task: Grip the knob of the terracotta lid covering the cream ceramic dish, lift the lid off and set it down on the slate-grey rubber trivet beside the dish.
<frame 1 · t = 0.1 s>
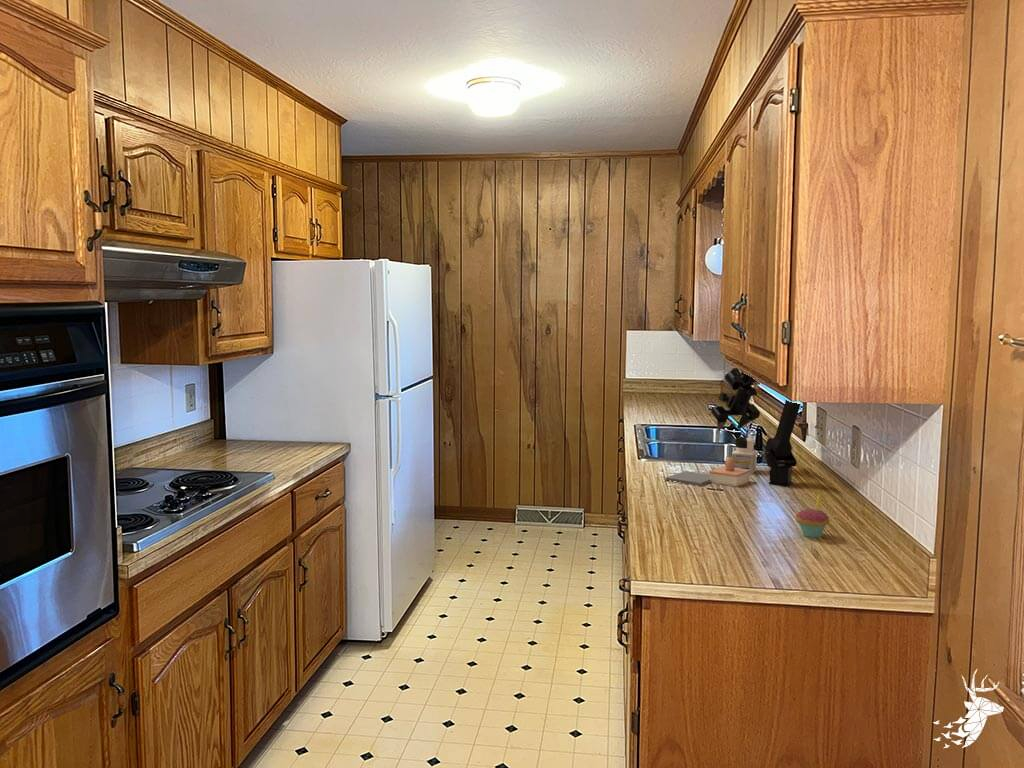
hand: (728, 429, 296), 15 cm above the counter, tool tilted 35°, fingers open, 9 cm apart
dish: (729, 482, 272), on the counter
cupcake: (812, 535, 208), on the counter
container: (744, 471, 289), on the counter
trivet: (692, 480, 276), on the counter
lid: (729, 472, 271), point 3 cm above the counter, touching dish
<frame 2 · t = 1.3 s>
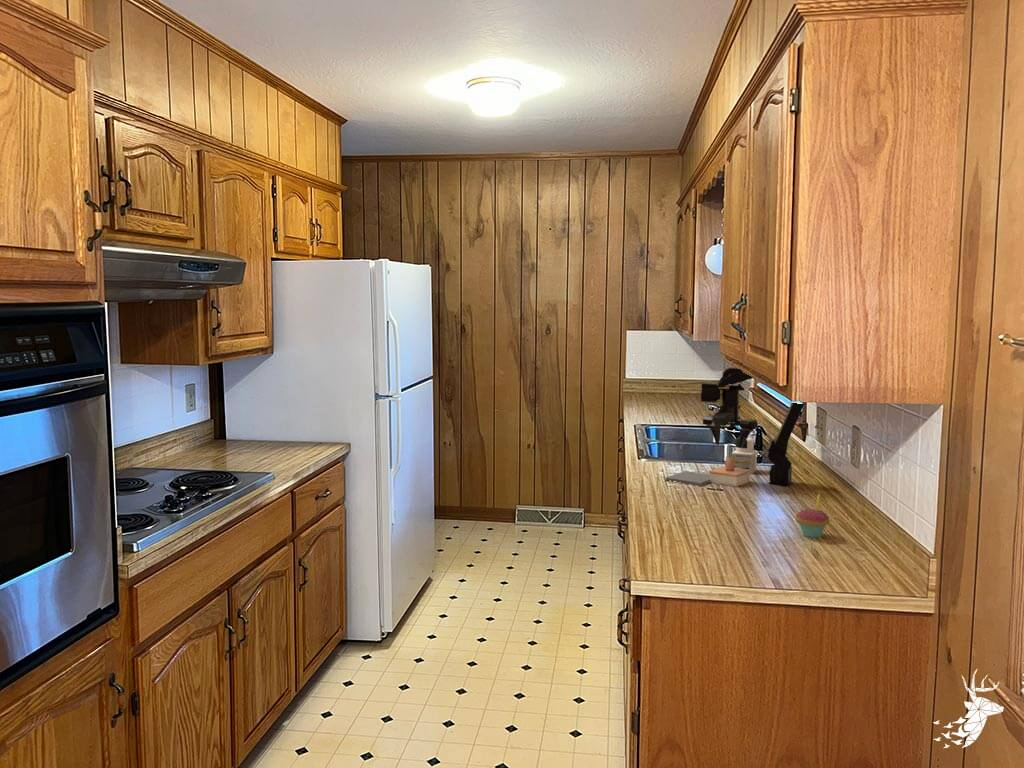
hand: (729, 446, 271), 13 cm above the counter, tool pointing down, fingers open, 9 cm apart
nothing on the counter moved.
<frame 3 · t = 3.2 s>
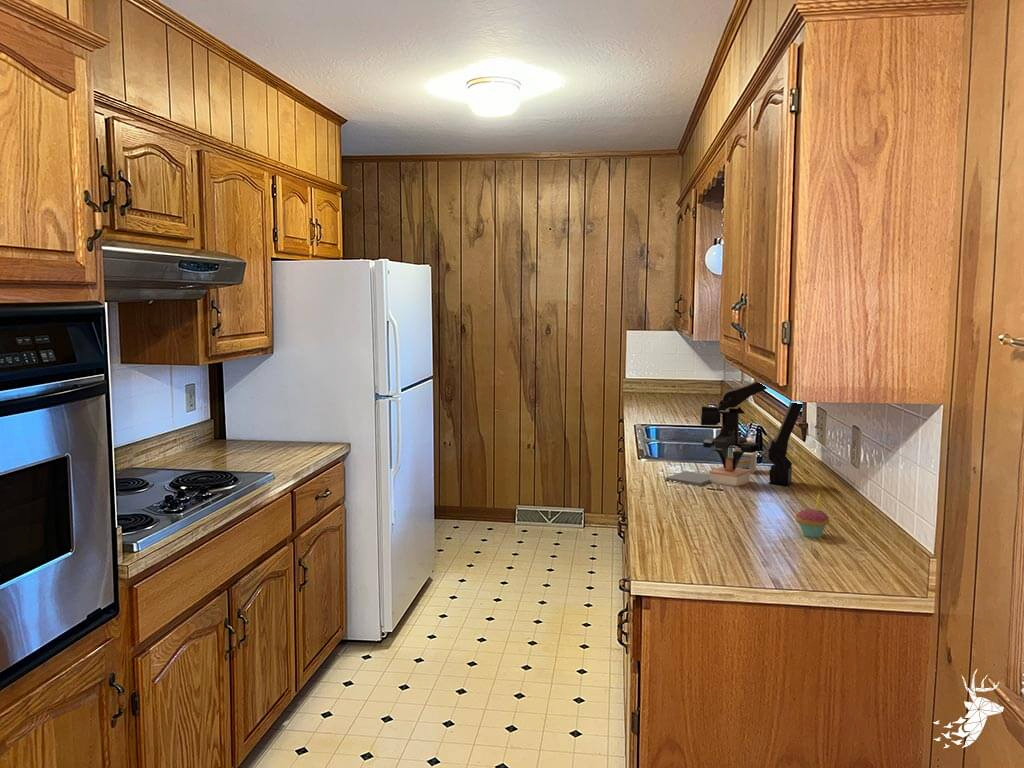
hand: (729, 469, 271), 5 cm above the counter, tool pointing down, fingers closed on lid, 3 cm apart
lid: (729, 472, 271), point 3 cm above the counter, touching dish, gripper
everything else where it was.
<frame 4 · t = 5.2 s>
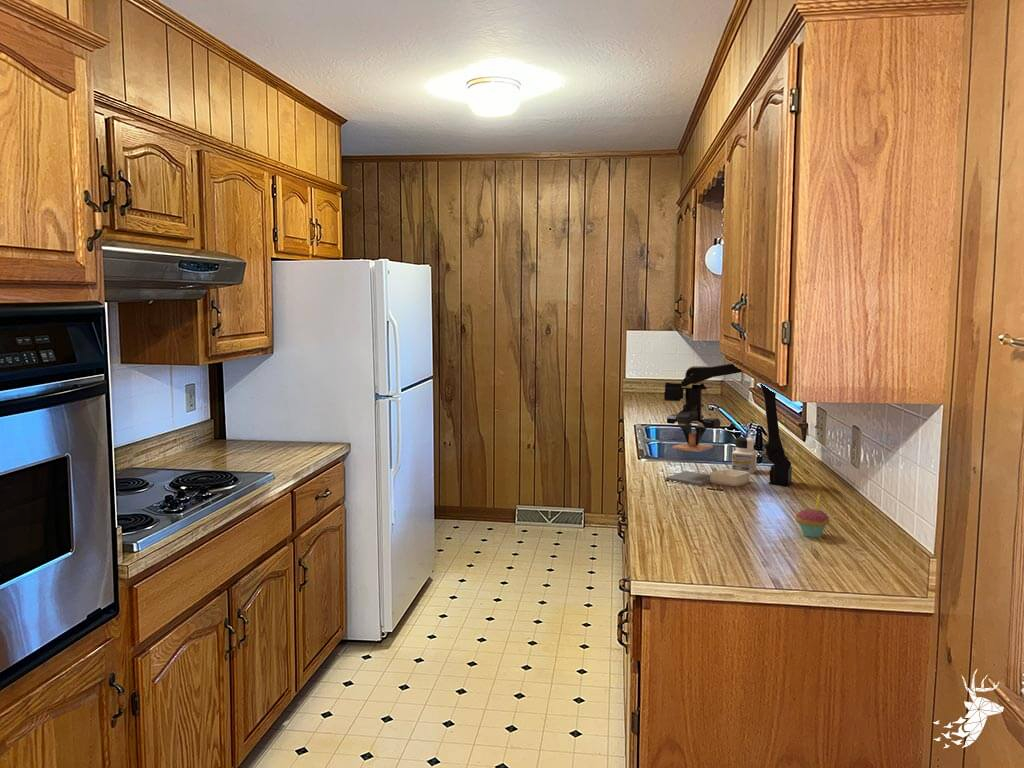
hand: (692, 444, 275), 13 cm above the counter, tool pointing down, fingers closed on lid, 3 cm apart
lid: (692, 448, 275), point 12 cm above the counter, touching gripper
everything else where it was.
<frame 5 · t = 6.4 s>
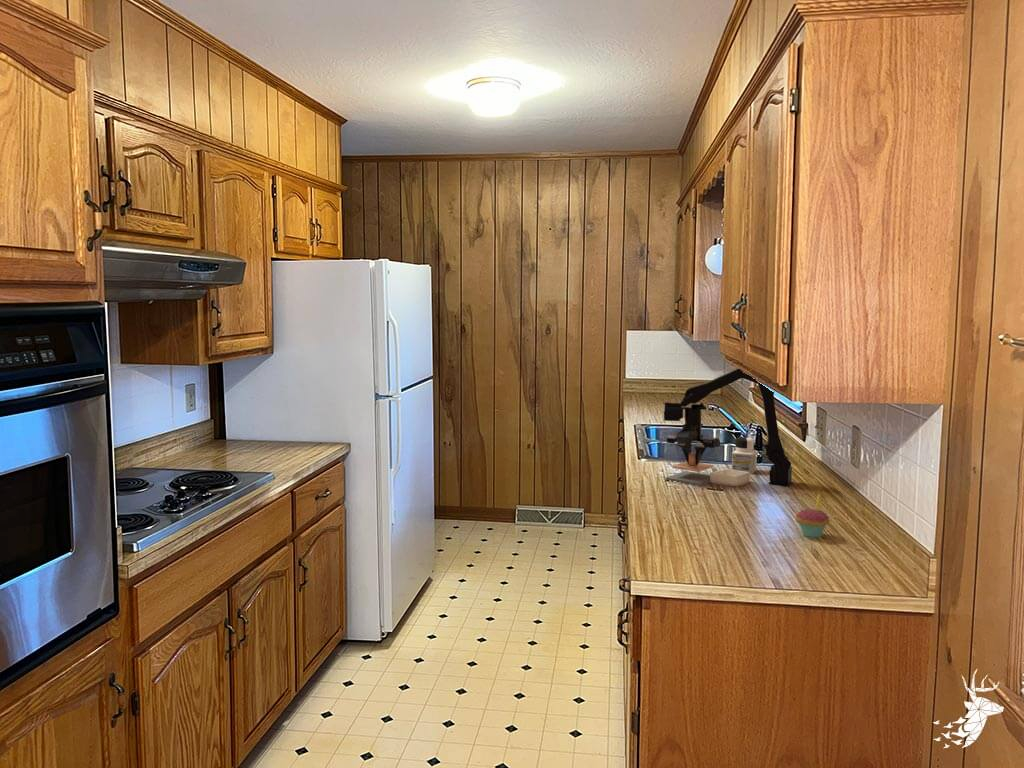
hand: (692, 464, 275), 6 cm above the counter, tool pointing down, fingers closed on lid, 3 cm apart
lid: (692, 467, 275), point 5 cm above the counter, touching gripper
everything else where it was.
when the fingers open (4 cm above the counter, at t = 7.4 s): lid drops 2 cm, resting on trivet.
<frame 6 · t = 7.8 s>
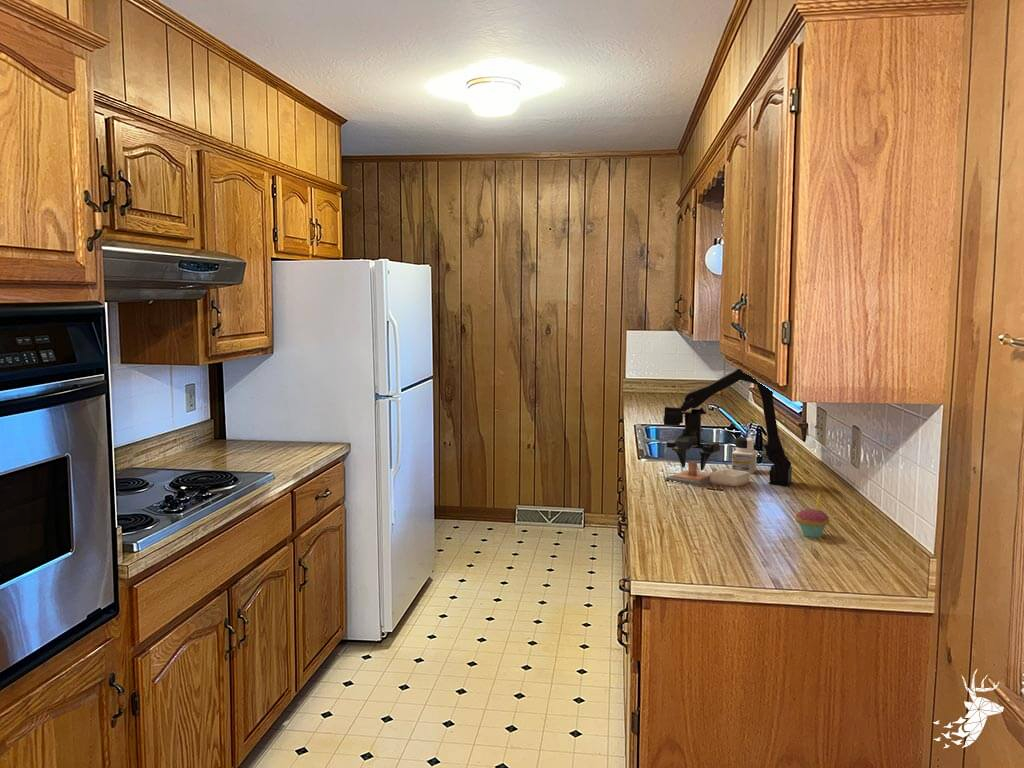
hand: (692, 468, 275), 4 cm above the counter, tool pointing down, fingers open, 7 cm apart
lid: (692, 476, 276), point 1 cm above the counter, touching trivet
everything else where it was.
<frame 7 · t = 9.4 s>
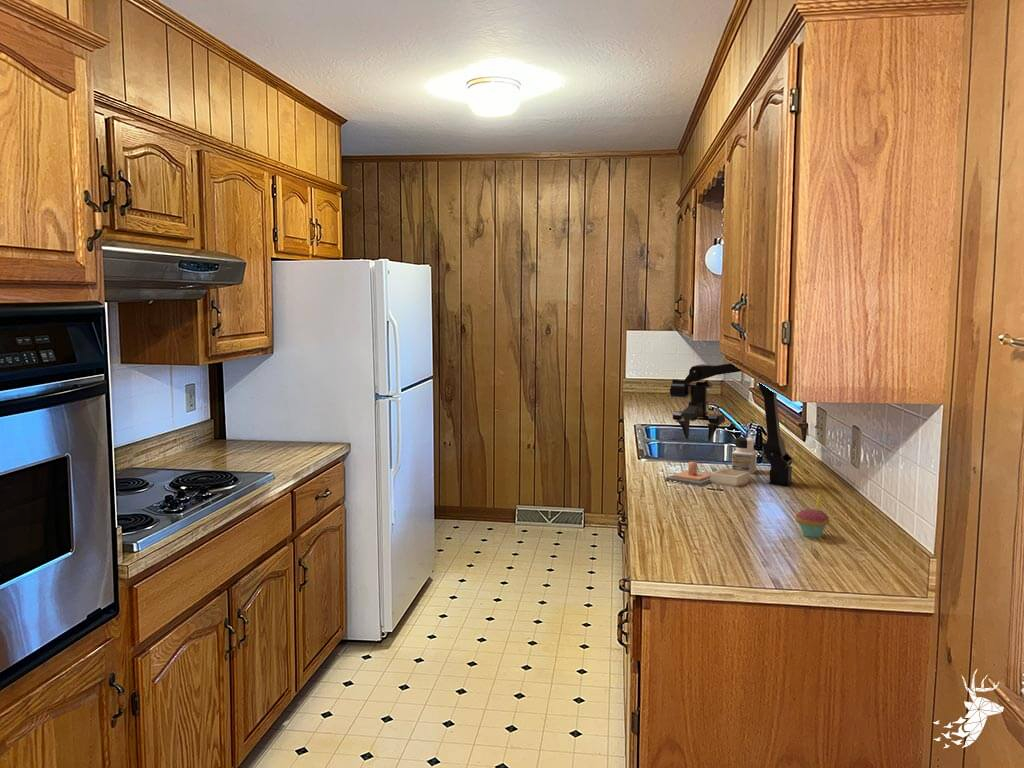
hand: (698, 440, 283), 13 cm above the counter, tool pointing down, fingers open, 9 cm apart
nothing on the counter moved.
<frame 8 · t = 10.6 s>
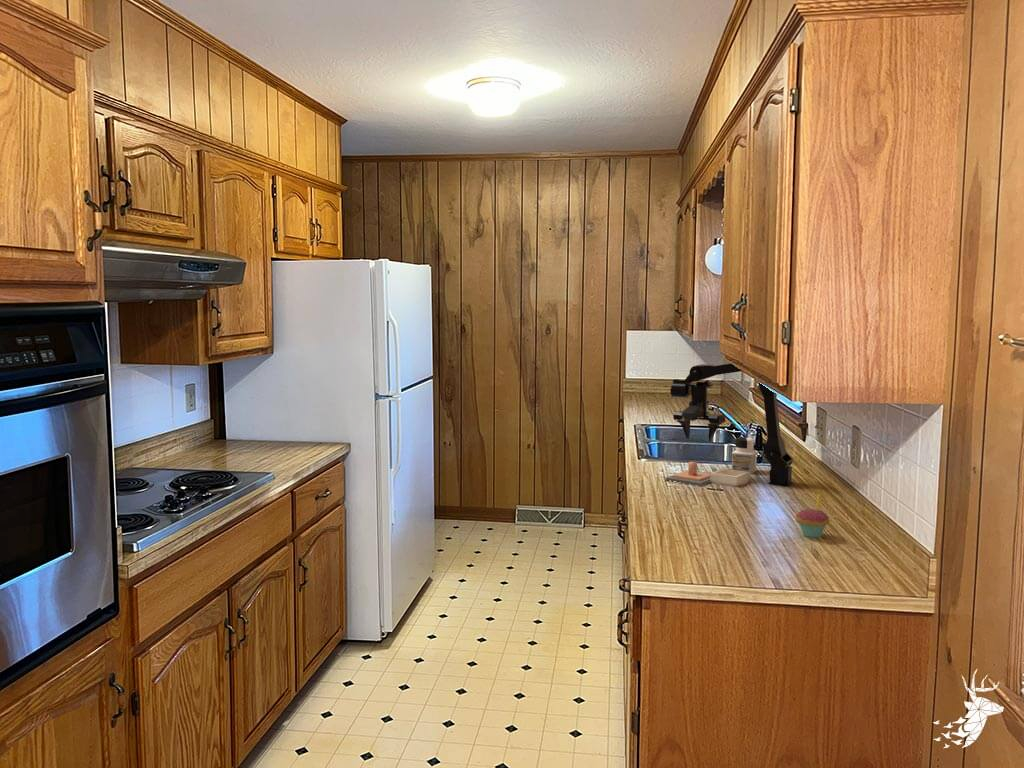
hand: (698, 439, 284), 13 cm above the counter, tool pointing down, fingers open, 9 cm apart
nothing on the counter moved.
at the end: lid inside the target area on the trivet (0.0 cm from its centre), point 1.2 cm above the trivet's base; lid touching trivet; the gripper is holding nothing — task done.
